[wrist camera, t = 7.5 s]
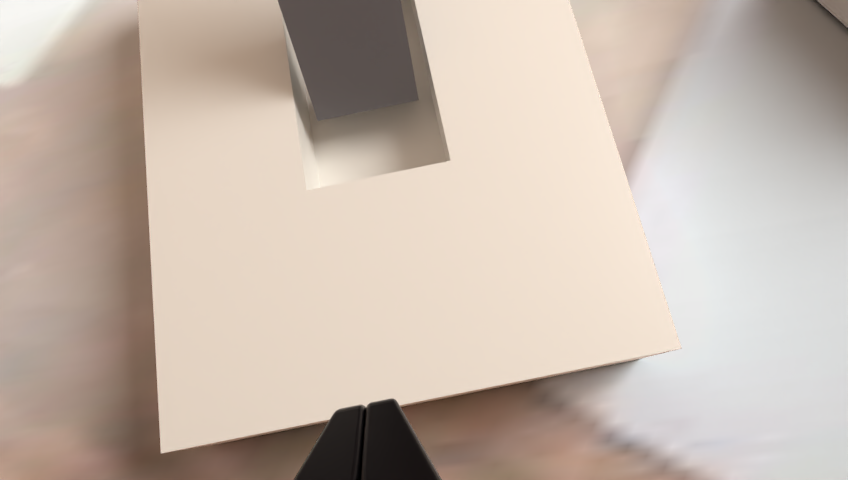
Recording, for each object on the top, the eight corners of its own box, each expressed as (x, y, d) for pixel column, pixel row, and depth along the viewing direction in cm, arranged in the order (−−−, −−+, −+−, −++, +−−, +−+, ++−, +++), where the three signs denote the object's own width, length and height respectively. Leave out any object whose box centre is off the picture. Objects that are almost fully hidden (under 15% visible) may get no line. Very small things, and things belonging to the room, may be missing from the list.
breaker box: (640, 358, 21) (681, 348, 17) (216, 444, 21) (160, 453, 17) (513, -67, 26) (521, -147, 22) (181, 3, 27) (133, -65, 23)
